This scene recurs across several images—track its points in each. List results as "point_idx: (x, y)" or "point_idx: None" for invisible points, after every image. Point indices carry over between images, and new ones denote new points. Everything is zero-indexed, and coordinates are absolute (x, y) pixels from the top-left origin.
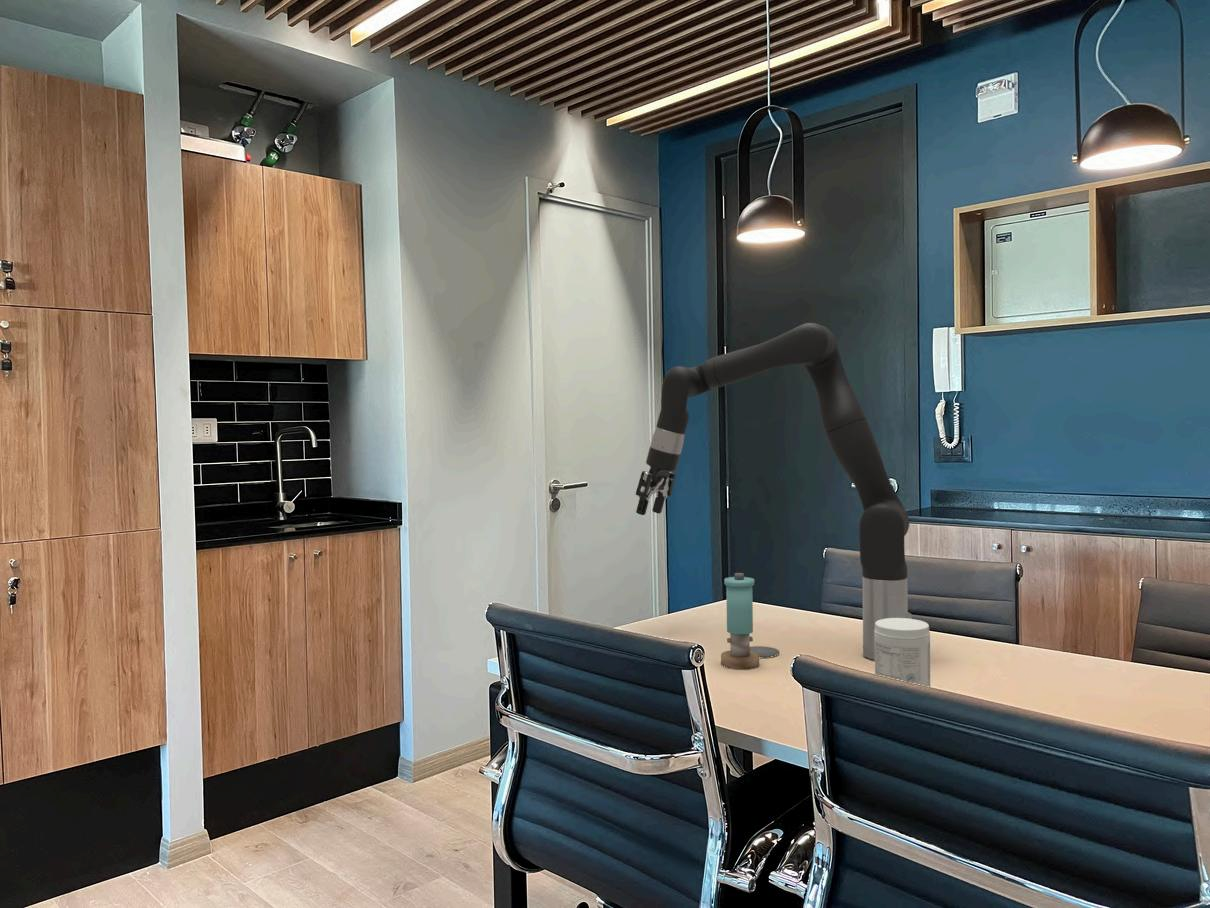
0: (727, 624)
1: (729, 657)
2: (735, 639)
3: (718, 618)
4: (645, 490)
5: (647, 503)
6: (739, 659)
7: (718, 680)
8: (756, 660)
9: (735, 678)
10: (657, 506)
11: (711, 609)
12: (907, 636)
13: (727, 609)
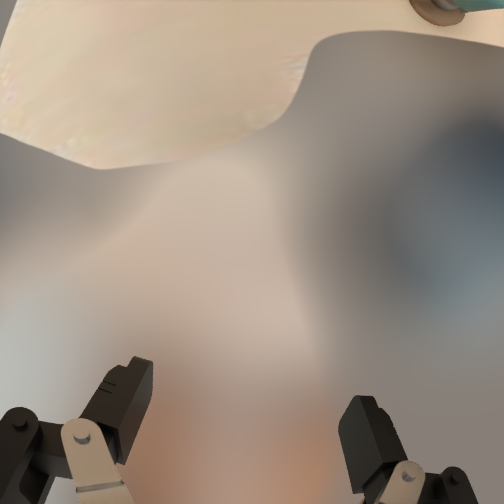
0: (481, 10)
1: (458, 14)
2: None
3: (92, 83)
4: (475, 502)
5: (387, 446)
6: None
7: (500, 43)
8: None
9: (490, 20)
10: (139, 404)
11: (38, 126)
12: None
13: (500, 8)
